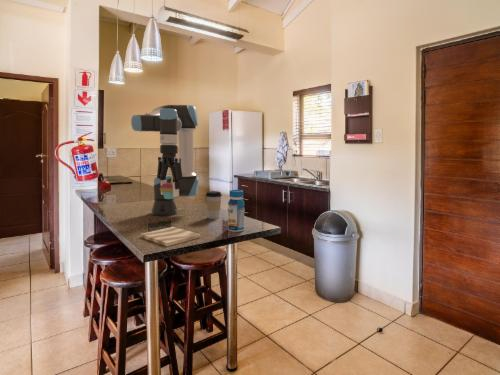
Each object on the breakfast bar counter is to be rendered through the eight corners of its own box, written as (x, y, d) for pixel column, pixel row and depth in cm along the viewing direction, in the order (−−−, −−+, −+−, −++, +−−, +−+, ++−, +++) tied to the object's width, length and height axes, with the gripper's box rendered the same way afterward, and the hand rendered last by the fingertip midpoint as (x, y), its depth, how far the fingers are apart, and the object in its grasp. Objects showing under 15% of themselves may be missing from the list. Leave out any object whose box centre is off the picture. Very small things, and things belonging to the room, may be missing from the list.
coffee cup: (219, 219, 183) (219, 193, 181) (203, 219, 185) (203, 193, 183) (223, 216, 193) (223, 191, 191) (208, 215, 194) (208, 190, 192)
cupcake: (170, 196, 152) (170, 170, 150) (183, 198, 147) (183, 171, 146) (156, 198, 145) (155, 171, 143) (169, 200, 140) (168, 172, 139)
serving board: (140, 237, 148) (140, 233, 148) (173, 229, 162) (173, 226, 161) (166, 246, 135) (166, 242, 135) (200, 237, 149) (200, 234, 148)
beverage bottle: (245, 231, 159) (246, 191, 157) (228, 232, 158) (228, 191, 155) (243, 227, 167) (243, 189, 165) (226, 228, 166) (227, 189, 163)
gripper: (147, 144, 147) (149, 193, 150) (176, 144, 133) (177, 199, 136) (162, 144, 153) (163, 192, 156) (191, 144, 139) (191, 197, 142)
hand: (169, 195), depth 146 cm, fingers closed on cupcake, 8 cm apart
